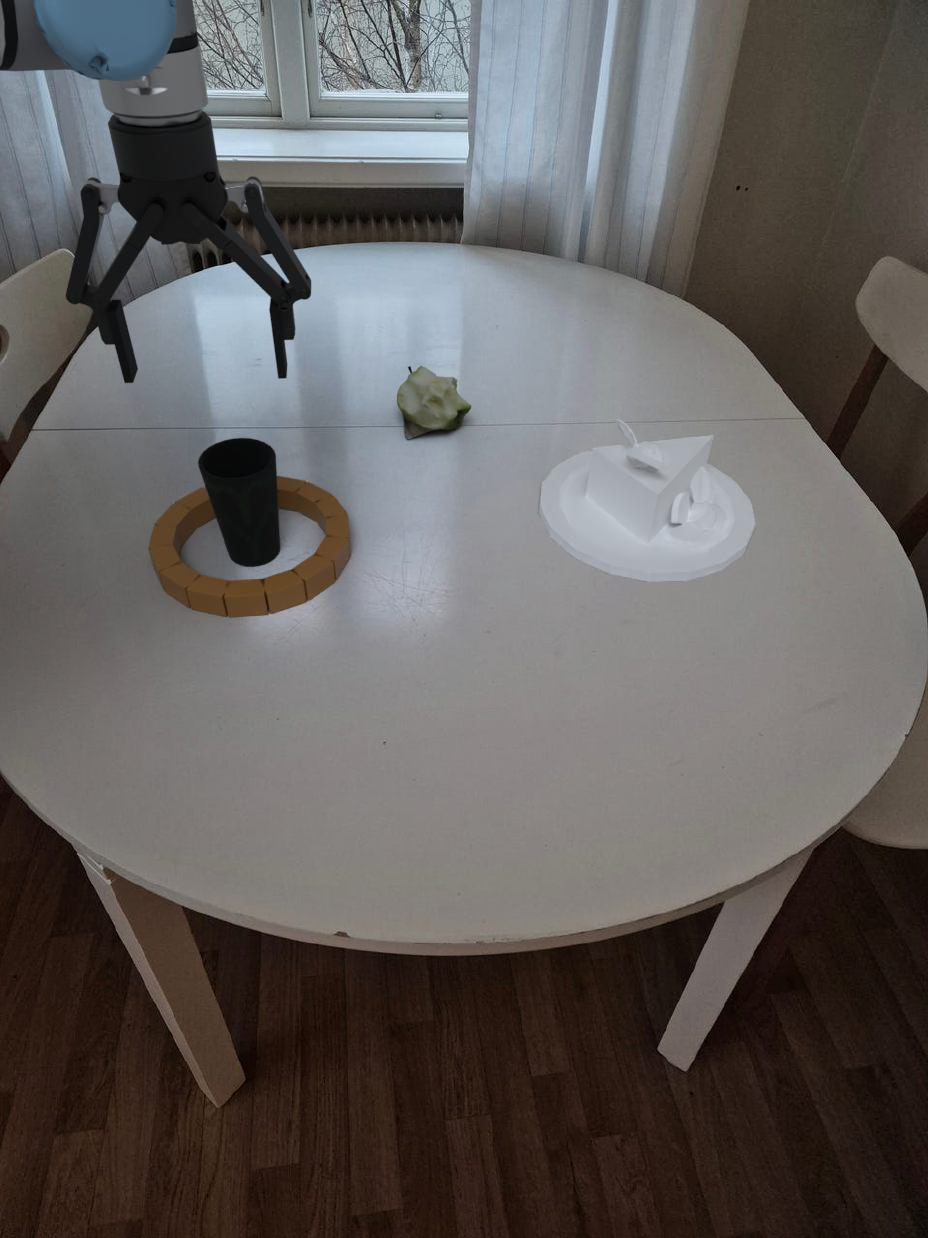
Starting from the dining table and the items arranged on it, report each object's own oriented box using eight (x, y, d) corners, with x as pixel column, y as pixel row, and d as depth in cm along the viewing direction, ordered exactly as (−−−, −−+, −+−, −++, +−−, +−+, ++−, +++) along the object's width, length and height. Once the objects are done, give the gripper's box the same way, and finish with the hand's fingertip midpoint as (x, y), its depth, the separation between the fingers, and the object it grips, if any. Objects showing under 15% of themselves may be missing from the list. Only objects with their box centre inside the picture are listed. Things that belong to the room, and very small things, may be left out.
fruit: (391, 420, 118) (393, 361, 113) (458, 420, 119) (462, 362, 115) (401, 444, 110) (403, 382, 106) (472, 444, 112) (477, 383, 108)
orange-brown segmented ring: (142, 623, 86) (135, 602, 84) (169, 499, 101) (163, 480, 99) (352, 609, 88) (350, 589, 86) (348, 490, 103) (346, 471, 101)
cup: (304, 543, 96) (291, 451, 88) (259, 582, 91) (241, 488, 83) (250, 521, 99) (233, 429, 90) (204, 557, 94) (181, 464, 86)
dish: (636, 612, 89) (656, 525, 81) (497, 492, 104) (502, 408, 96) (797, 533, 99) (828, 449, 91) (649, 434, 114) (665, 354, 106)
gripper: (-32, 125, 61) (57, 398, 75) (326, 125, 63) (345, 389, 78) (-3, 99, 66) (75, 358, 80) (326, 100, 69) (343, 351, 83)
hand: (207, 374), depth 79 cm, fingers open, 13 cm apart
